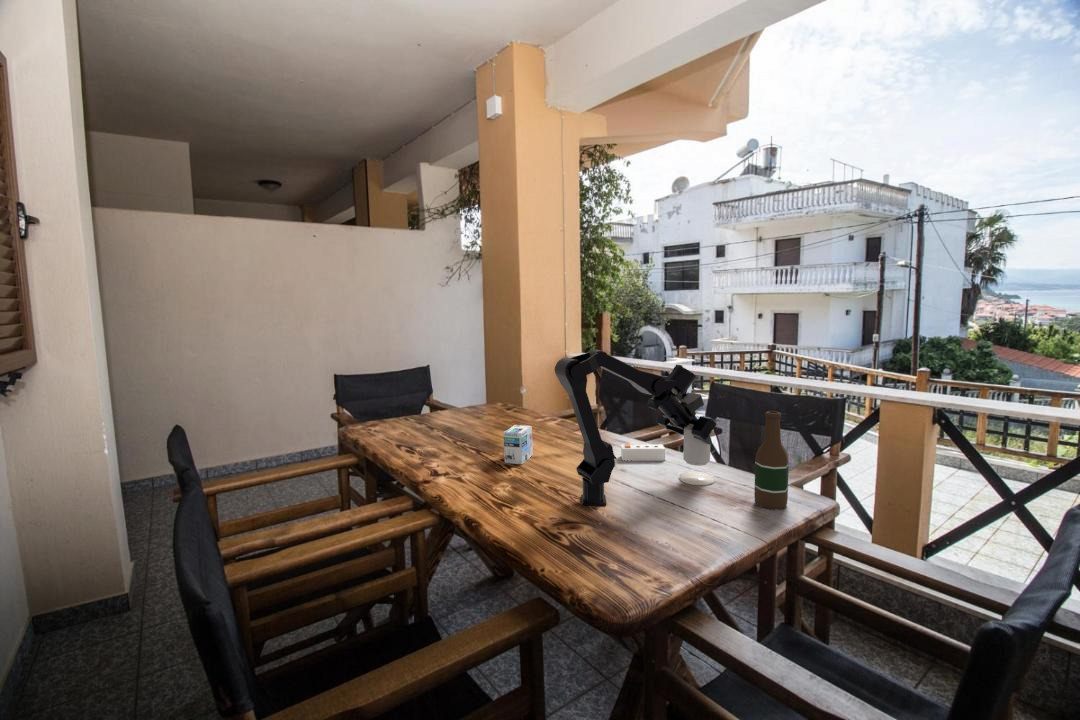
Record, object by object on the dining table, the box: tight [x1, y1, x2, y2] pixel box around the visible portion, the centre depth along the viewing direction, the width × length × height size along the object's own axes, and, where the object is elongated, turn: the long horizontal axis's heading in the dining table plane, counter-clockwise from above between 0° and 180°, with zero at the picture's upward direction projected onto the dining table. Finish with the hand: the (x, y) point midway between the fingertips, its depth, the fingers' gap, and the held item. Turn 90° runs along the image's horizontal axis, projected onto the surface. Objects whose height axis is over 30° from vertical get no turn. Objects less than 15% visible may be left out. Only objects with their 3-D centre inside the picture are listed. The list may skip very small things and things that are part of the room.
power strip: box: [620, 443, 666, 462], centre depth 163 cm, size 5×14×5 cm, turn 86°
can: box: [682, 426, 712, 467], centre depth 142 cm, size 8×8×12 cm
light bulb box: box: [503, 424, 534, 465], centre depth 166 cm, size 11×7×11 cm, turn 161°
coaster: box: [678, 471, 716, 486], centre depth 143 cm, size 10×10×1 cm
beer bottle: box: [754, 410, 790, 511], centre depth 123 cm, size 8×8×24 cm
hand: (700, 439), depth 142 cm, fingers closed on can, 7 cm apart
